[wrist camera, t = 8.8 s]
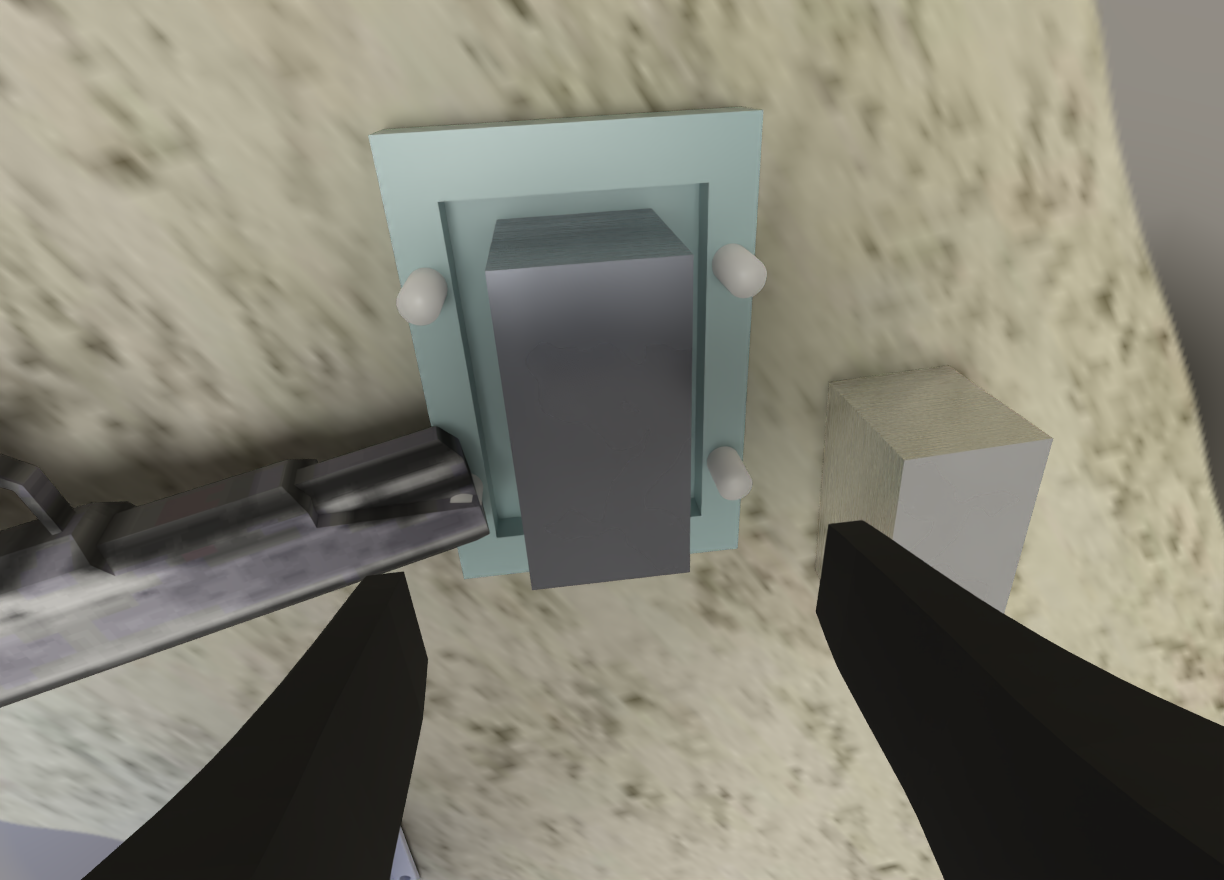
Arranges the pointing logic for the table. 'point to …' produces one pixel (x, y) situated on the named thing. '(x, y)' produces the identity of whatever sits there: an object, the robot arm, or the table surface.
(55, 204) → the table surface
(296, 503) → the handgun
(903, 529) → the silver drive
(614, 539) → the dark grey rectangular block
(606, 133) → the tray
